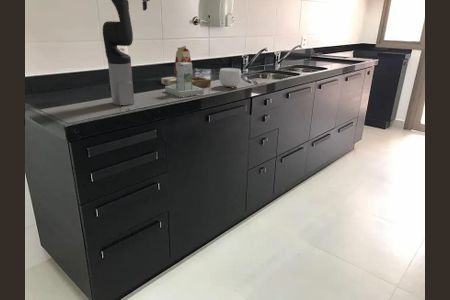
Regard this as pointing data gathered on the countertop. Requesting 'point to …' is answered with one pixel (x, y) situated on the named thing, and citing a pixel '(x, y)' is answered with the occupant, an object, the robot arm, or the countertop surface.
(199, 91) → the tray
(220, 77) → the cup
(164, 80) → the beige rectangular block
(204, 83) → the socket
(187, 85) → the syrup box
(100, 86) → the countertop surface
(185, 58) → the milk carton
